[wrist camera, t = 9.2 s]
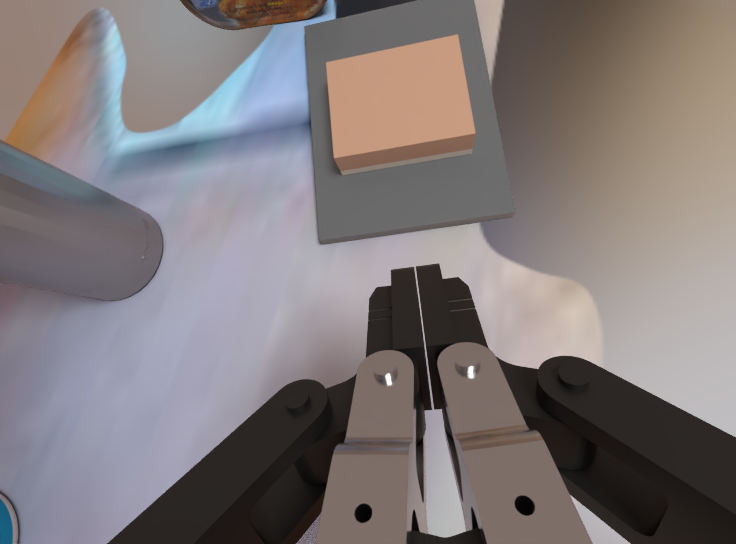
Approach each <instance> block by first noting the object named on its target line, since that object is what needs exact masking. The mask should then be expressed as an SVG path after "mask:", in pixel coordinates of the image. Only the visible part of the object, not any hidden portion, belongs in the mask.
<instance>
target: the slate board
mask: <svg viewBox="0 0 736 544" xmlns="http://www.w3.org/2000/svg"><path fill="white" fill-rule="evenodd" d="M304 27H305V42H306V56H307V71H308V86H309V100H310V115H311V130H312V144H313V159H314V174H315V188H316V203H317V217H318V232H319V241H320V242H321V243H322V244H330V243H337V242H344V241H350V240H357V239H364V238H371V237H378V236H385V235H392V234H399V233H406V232H413V231H420V230H427V229H434V228H441V227H448V226H455V225H462V224H469V223H476V222H483V221H490V220H497V219H504V218H511V217H513V215H514V213H515V208H514V203H513V198H512V193H511V188H510V183H509V177H508V172H507V168H506V162H505V158H504V152H503V147H502V142H501V136H500V131H499V126H498V122H497V116H496V111H495V106H494V102H493V101H494V100H493V96H492V90H491V85H490V80H489V75H488V70H487V65H486V59H485V54H484V49H483V44H482V39H481V34H480V29H479V23H478V18H477V13H476V8H475V3H474V0H417V1H413V2H409V3H404V4H400V5H395V6H392V7H387V8H383V9H379V10H374V11H369V12H365V13H361V14H356V15H352V16H347V17H343V18H339V19H334V20H330V21H325V22H321V23H317V24H312V25H308V26H304ZM457 34H458V37H459V43H460V49H461V54H462V60H463V65H464V71H465V77H466V82H467V88H468V93H469V99H470V105H471V110H472V116H473V121H474V127H475V133H476V134H475V139H474V145H473V150H472V154H467V155H461V156H455V157H449V158H443V159H437V160H431V161H425V162H419V163H414V164H408V165H402V166H396V167H390V168H384V169H378V170H372V171H366V172H360V173H354V174H348V175H342V173H341V171H340V169H339V167H338V165H337V164H336V162H335V160H334V154H333V142H332V130H331V117H330V105H329V93H328V81H327V68H326V62H330V61H335V60H340V59H344V58H349V57H354V56H358V55H363V54H368V53H373V52H377V51H382V50H387V49H391V48H396V47H401V46H405V45H410V44H415V43H419V42H424V41H429V40H434V39H438V38H443V37H448V36H452V35H457Z"/></svg>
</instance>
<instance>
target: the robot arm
mask: <svg viewBox="0 0 736 544" xmlns="http://www.w3.org/2000/svg"><path fill="white" fill-rule="evenodd" d="M162 248H163V242H162V235H161V231H160V228H159V226H158V225H157V223H156V221H155V220H154V219H153V218H152V217H151V216H150V215H149V214H148V213H146V212H144V211H143V210H141V209H139V208H137V207H135V206H133V205H131V204H129V203H127V202H125V201H123V200H120V199H118V198H116V197H114V196H113V195H111V194H109V193H107V192H105V191H103V190H101V189H99V188H97V187H95V186H93V185H91V184H89V183H87V182H85V181H83V180H81V179H79V178H77V177H75V176H73V175H71V174H69V173H67V172H65V171H63V170H61V169H59V168H57V167H55V166H53V165H50V164H48V163H46V162H44V161H42V160H40V159H38V158H36V157H34V156H32V155H30V154H28V153H26V152H24V151H22V150H20V149H18V148H16V147H14V146H12V145H10V144H8V143H6V142H4V141H2V140H0V282H2V283H7V284H13V285H19V286H25V287H31V288H37V289H43V290H49V291H55V292H61V293H66V294H72V295H78V296H84V297H90V298H96V299H102V300H110V301H113V300H121V299H124V298H127V297H129V296H131V295H133V294H135V293H136V292H138V291H139V290H140V289H142V288H143V287H144V286H145V285H146V284H147V283H148V282H149V280H150V279H151V278H152V277H153V275H154V273H155V271H156V270H157V268H158V266H159V262H160V259H161V256H162ZM416 271H417V279H418V286H419V294H420V302H421V310H422V318H423V326H424V334H425V342H426V349H427V357H428V365H429V372H430V380H431V388H432V395H433V403H434V409H442V413H443V420H444V428H445V436H446V441H447V445H448V450H449V454H450V458H451V463H452V467H453V471H454V476H455V480H456V484H457V489H458V493H459V497H460V502H461V506H462V511H463V516H464V521H465V528H466V532H463V533H461V534H458V535H455V536H452V537H448V538H443V537H438V536H434V535H430V534H428V528H427V516H426V461H425V430H426V423H425V413H424V410H432V407H431V399H430V390H429V382H428V374H427V366H426V357H425V349H424V341H423V332H422V324H421V316H420V308H419V301H418V293H417V286H416V278H415V271H414V267H409V268H401V269H394V270H391V286H384V287H377V288H376V289H375V291H374V292H373V294H372V295H371V297H370V298H369V315H368V332H367V349H366V359H364V360H363V361H362V363H361V364H360V366H359V368H358V371H357V374H356V375H355V376H354V377H352V378H351V379H349V380H347V381H345V382H343V383H341V384H338V385H335V386H333V387H330V388H327V389H325V387H324V386H323V385H322V384H321V383H319V382H317V381H315V380H309V379H304V380H298V381H295V382H292V383H290V384H288V385H286V386H285V387H283V388H282V389H281V390H279V391H278V392H277V393H276V394H275V395H274V396H273V397H272V398H270V399H269V400H268V401H267V402H266V403H265V404H264V405H263V406H261V407H260V408H259V409H258V410H257V411H256V412H255V413H254V414H252V415H251V416H250V417H249V418H248V419H247V420H246V421H245V422H243V423H242V424H241V425H240V426H239V427H238V428H237V429H236V430H234V431H233V432H232V433H231V434H230V435H229V436H228V437H227V438H226V439H224V440H223V441H222V442H221V443H220V444H219V445H218V446H217V447H215V448H214V449H213V450H212V451H211V452H210V453H209V454H208V455H206V456H205V457H204V458H203V459H202V460H201V461H200V462H199V463H197V464H196V465H195V466H194V467H193V468H192V469H191V470H190V471H188V472H187V473H186V474H185V475H184V476H183V477H182V478H181V479H179V480H178V481H177V482H176V483H175V484H174V485H173V486H172V487H170V488H169V489H168V490H167V491H166V492H165V493H164V494H163V495H161V496H160V497H159V498H158V499H157V500H156V501H155V502H154V503H152V504H151V505H150V506H149V507H148V508H147V509H146V510H145V511H143V512H142V513H141V514H140V515H139V516H138V517H137V518H136V519H134V520H133V521H132V522H131V523H130V524H129V525H128V526H127V527H125V528H124V529H123V530H122V531H121V532H120V533H119V534H118V535H116V536H115V537H114V538H113V539H112V540H111V541H110V542H109V543H107V544H296V543H297V542H298V540H299V539H300V538H301V537H302V536H303V534H304V533H305V532H306V531H307V529H308V528H309V527H310V526H311V524H312V523H313V522H314V521H315V519H316V518H317V517H318V516H319V515H320V513H321V517H320V522H319V527H318V532H317V537H316V542H315V544H592V541H591V539H590V537H589V535H588V533H587V531H586V529H585V526H584V524H583V522H582V520H581V518H580V516H579V514H578V511H577V509H576V507H575V505H574V503H573V501H572V499H571V497H570V495H571V496H573V497H574V498H575V499H576V500H577V501H579V502H580V503H581V504H582V505H584V506H585V507H586V508H588V509H589V510H590V511H591V512H593V513H594V514H595V515H596V516H597V517H599V518H600V519H601V520H602V521H604V522H605V523H606V524H607V525H608V526H610V527H611V528H612V529H614V530H615V531H616V532H617V533H618V534H620V535H621V536H622V537H623V538H625V539H626V540H627V541H628V542H630V543H631V544H736V437H733V436H732V435H730V434H728V433H726V432H724V431H722V430H720V429H718V428H716V427H714V426H712V425H711V424H709V423H706V422H705V421H703V420H701V419H699V418H697V417H695V416H693V415H691V414H689V413H687V412H686V411H684V410H681V409H680V408H678V407H676V406H674V405H672V404H670V403H668V402H666V401H664V400H662V399H661V398H659V397H657V396H655V395H653V394H651V393H649V392H647V391H645V390H643V389H641V388H639V387H637V386H635V385H634V384H632V383H630V382H628V381H626V380H624V379H622V378H620V377H618V376H616V375H614V374H612V373H610V372H608V371H607V370H605V369H603V368H601V367H599V366H597V365H595V364H593V363H591V362H589V361H587V360H584V359H581V358H578V357H573V356H558V357H553V358H550V359H548V360H546V361H545V362H543V363H542V364H541V365H540V367H539V369H534V368H527V367H521V366H516V365H512V364H509V363H507V362H504V361H502V360H501V359H499V358H498V357H496V356H495V355H494V353H493V352H492V351H491V350H490V349H489V348H488V346H487V343H486V340H485V337H484V334H483V330H482V327H481V324H480V321H479V318H478V315H477V312H476V309H475V305H474V302H473V300H472V296H471V293H470V290H469V286H468V285H467V284H465V283H464V282H463V281H462V280H461V279H460V278H459V277H456V278H448V279H442V274H441V270H440V265H439V264H432V265H424V266H416ZM569 494H570V495H569Z"/></svg>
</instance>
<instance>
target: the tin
mask: <svg viewBox="0 0 736 544" xmlns="http://www.w3.org/2000/svg"><path fill="white" fill-rule="evenodd" d="M180 1H181V2H182V3H183V5H184V6H185V7H186V8H187V9H188V10H189V11H190V12H192V13H193V14H194V15H195V16H197V17H198V18H199V19H201V20H203V21H204V22H206V23H208V24H210V25H212V26H215V27H218V28H222V29H227V30H239V29H245V28H252V27H258V26H265V25H272V24H279V23H286V22H293V21H300V20H305V19H308V18H310V17H312V16H314V15H315V14H316V13H318V12H319V11H320V10H321V8H322V7H323V6H324V4H325V2H326V0H180Z"/></svg>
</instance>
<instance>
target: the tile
mask: <svg viewBox="0 0 736 544" xmlns="http://www.w3.org/2000/svg"><path fill="white" fill-rule="evenodd" d="M326 68H327V81H328V93H329V105H330V117H331V130H332V142H333V154H334V160H335V162H336V164H337V165H338V167H339V169H340V171H341V173H342V175H348V174H354V173H360V172H366V171H372V170H378V169H384V168H390V167H396V166H402V165H408V164H414V163H419V162H425V161H431V160H437V159H443V158H449V157H455V156H461V155H467V154H472V150H473V145H474V139H475V134H476V133H475V127H474V121H473V116H472V110H471V105H470V99H469V93H468V88H467V82H466V77H465V71H464V65H463V60H462V54H461V49H460V43H459V37H458V34H457V35H452V36H448V37H443V38H438V39H434V40H429V41H424V42H419V43H415V44H410V45H405V46H401V47H396V48H391V49H387V50H382V51H377V52H373V53H368V54H363V55H358V56H354V57H349V58H344V59H340V60H335V61H330V62H326Z"/></svg>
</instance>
